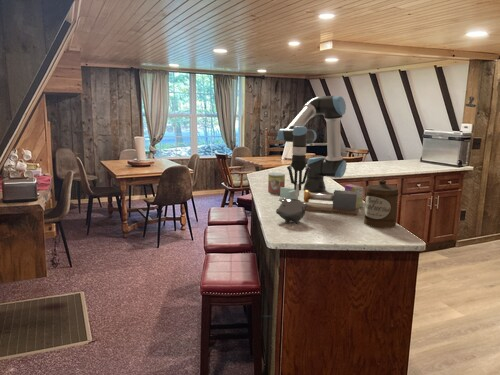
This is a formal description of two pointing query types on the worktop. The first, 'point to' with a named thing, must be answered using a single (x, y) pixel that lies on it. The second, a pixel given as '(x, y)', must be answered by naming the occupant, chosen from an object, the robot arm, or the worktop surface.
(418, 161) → the worktop surface
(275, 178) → the canned food
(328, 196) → the shaft
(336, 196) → the housing
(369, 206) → the wooden container
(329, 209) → the base board
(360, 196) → the box
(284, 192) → the l-shaped corner panel
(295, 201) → the piggy bank
